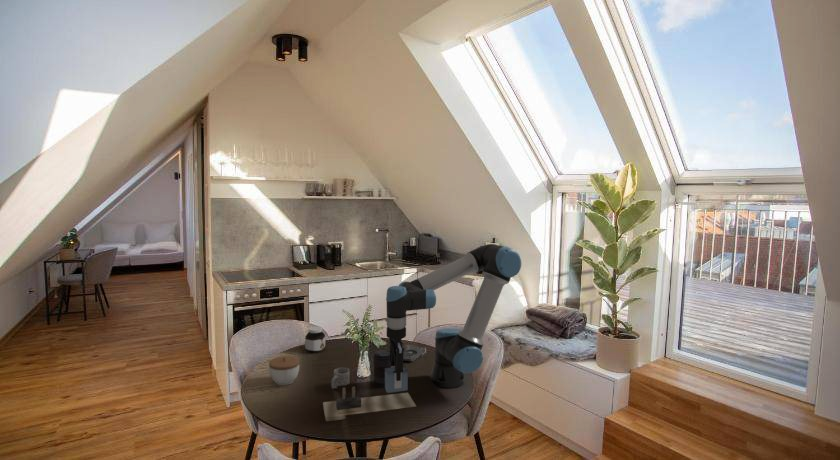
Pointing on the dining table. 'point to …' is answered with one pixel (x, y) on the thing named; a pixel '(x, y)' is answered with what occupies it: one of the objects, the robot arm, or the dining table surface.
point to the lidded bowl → (284, 369)
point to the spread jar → (315, 340)
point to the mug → (340, 377)
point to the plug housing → (390, 380)
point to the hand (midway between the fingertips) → (396, 384)
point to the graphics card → (413, 352)
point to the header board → (364, 404)
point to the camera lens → (381, 366)
